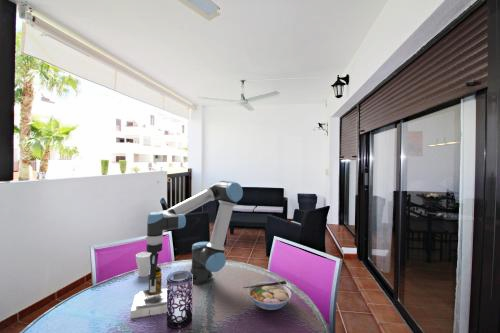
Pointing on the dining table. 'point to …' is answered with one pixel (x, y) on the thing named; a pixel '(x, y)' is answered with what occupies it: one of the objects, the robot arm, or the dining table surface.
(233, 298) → the dining table surface
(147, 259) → the cup
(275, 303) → the ramen bowl
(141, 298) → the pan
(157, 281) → the condiment
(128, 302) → the dining table surface
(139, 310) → the base
